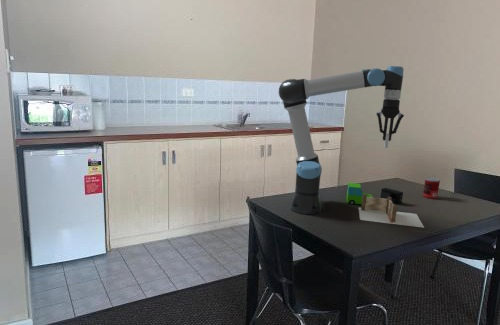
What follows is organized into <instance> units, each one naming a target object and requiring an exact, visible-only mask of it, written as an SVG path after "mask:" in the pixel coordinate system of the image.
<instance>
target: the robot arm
mask: <svg viewBox="0 0 500 325" xmlns="http://www.w3.org/2000/svg"><path fill="white" fill-rule="evenodd" d="M403 78H404V67H403V66H399V65H398V66H395V65H390V66H389V65H388V66H387V67H386V69H385V70H383V69H380V68H378V67H376V68H371V69H370V68H368V69H362V70H361V71H354V72H349V73H343V74H337V75H332V76H326V77H318V78H313V79H306V78H302V79H300V78H299V79H296V78H291V79H290V78H289V79H286V80H284V81H283V82H282V83H281V84H280V85H279V87H278V96H279V98H280V99H281V101H282V103H283V108H284V109H285V110H286V111H287V112H288V116H289V121H290V126H291V130H292V131H291V132H292V135H293V140H294V144H295V149H296V154H297V157H296V158H295V163H296V169H295V170H296V175H295V176H296V177H295V189H294V190H295V191H294V195H293V197H292V200H291V202H290V207H289V208H290V210H291V211H293V212H294V213H297V214H301V215H316V214H319V213H321V211H322V204H321V199H320V196H319V194H320V183H321V176H322V170H323V169H322V165H321V163H320V160H319V159H320V158H319V155H318V154H317V153H316V152H315V150H314V146H313V141H312V135H311V131H310V127H309V122H308V118H307V112H306V108H305V107H306V105H307V103H308V102H307V100H308V99H309V98H310V97H315V96H321V95H329V94H332V93H339V92H345V91H351V90H352V91H353V90H357V89H364V88H371V87H379V86H380V87H384V92H383V98H384V99H383V100H382V101H383V102H382V108H381V109H380V111H378V112H376V116H377V119H378V127H379V128H378V129H379V132H380V133H382V141H384V144H383V147H384V148H387V149H388V148H389V142H391V141H392V136H393V134H396V133H397V131H398V129H399V126H400V124H401V121H402V119H403V117H404V116H405V115H404V113H401V112H400V104H401V103H400V102H401V101H400V99H401V96H402V87H403V80H404V79H403ZM382 115H383V117H384V124H383V123H382ZM396 117H398V118H397V120H396V122H395V124H394V120H395V119H396ZM389 119H390V120H389ZM389 121H390V122H389ZM388 122H389V123H388ZM388 124H389V128H388ZM388 129H389V130H388ZM387 131H388V133H387Z"/></svg>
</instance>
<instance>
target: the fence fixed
mask: <svg viewBox="0 0 500 325" xmlns="http://www.w3.org/2000/svg"><path fill="white" fill-rule="evenodd" d="M366 194H367V193H366ZM366 194H363V196H362V204H360V205H361V206H360V208H361V210H363V211H364V210H365V209H367V210H376V211H384V212H386V213H388V205H389V200H392V197H388V199H384V198H381V197H366ZM365 203H366V204H365Z"/></svg>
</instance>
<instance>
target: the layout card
mask: <svg viewBox="0 0 500 325" xmlns="http://www.w3.org/2000/svg"><path fill="white" fill-rule="evenodd" d="M358 213H359V220H360V221H366V222H376V223H382V224H383V223H384V224H392V225H399V226H409V227H418V228H425V226H424V225H423V223H422V221H421V220H420V218H419V216H418V214H417V213H411V212H403V211H402V212H401V211H397V212H396V220H395V222H392V221H391V217H390V216H389V214H388V213H386V212H384V211H376V210H367V209H365V210H364V211H363V210H361V206H360V207H358Z"/></svg>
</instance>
